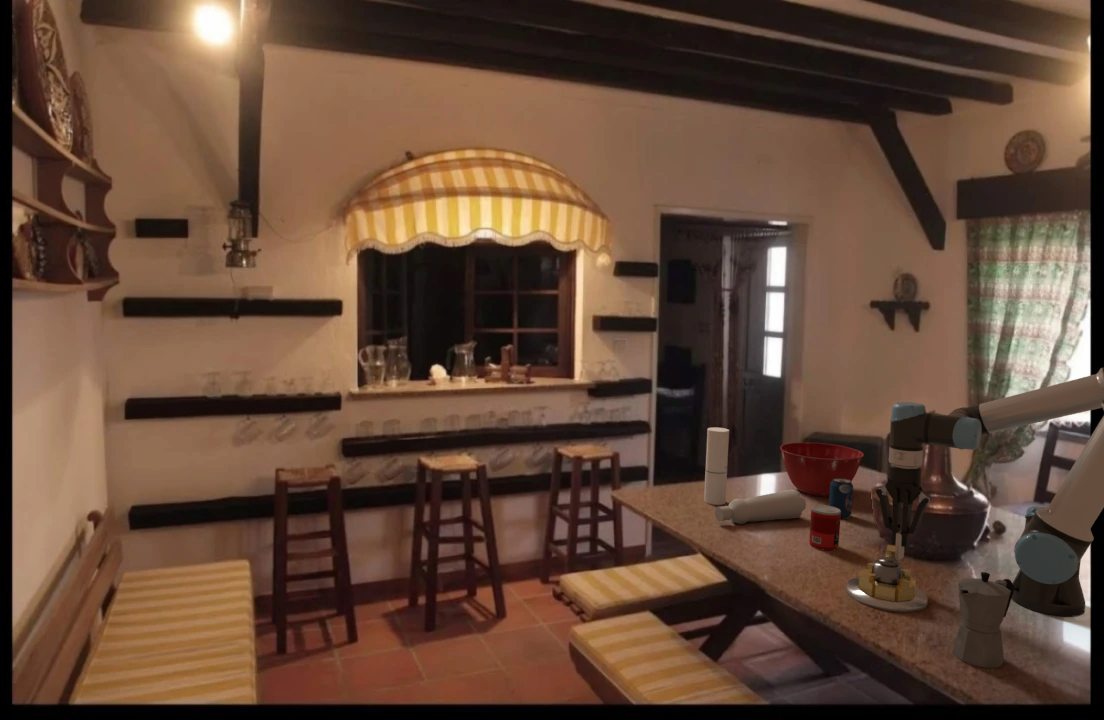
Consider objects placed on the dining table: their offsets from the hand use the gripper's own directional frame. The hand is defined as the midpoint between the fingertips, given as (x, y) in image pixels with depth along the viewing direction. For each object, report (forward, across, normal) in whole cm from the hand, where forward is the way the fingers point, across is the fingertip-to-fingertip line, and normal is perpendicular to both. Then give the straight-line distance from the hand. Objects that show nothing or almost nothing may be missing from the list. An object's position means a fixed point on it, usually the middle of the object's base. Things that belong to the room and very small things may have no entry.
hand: (899, 558), depth 191 cm
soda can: (+7, -36, +45) cm, 58 cm away
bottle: (+7, -51, +21) cm, 55 cm away
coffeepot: (+8, +26, -24) cm, 36 cm away
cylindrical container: (+7, -71, +28) cm, 77 cm away
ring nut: (+6, 0, -6) cm, 8 cm away
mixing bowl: (+7, -54, +68) cm, 87 cm away
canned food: (+7, -26, +14) cm, 31 cm away
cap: (+7, 0, -8) cm, 11 cm away
